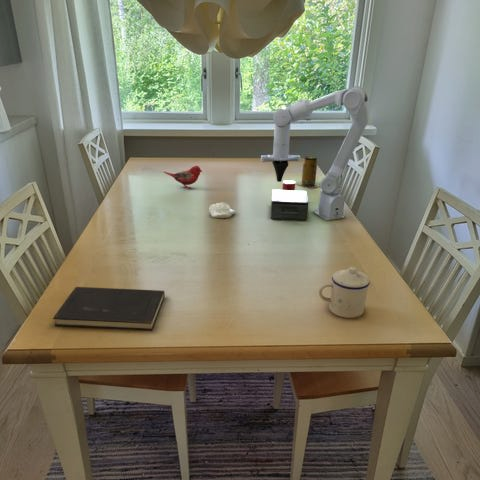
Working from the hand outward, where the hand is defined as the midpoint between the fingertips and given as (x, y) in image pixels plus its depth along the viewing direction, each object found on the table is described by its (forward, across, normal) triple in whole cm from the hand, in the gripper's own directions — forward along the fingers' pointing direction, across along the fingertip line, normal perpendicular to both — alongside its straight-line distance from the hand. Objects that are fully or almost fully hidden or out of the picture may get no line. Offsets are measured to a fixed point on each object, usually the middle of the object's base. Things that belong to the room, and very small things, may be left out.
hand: (279, 181), depth 182 cm
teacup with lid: (+11, -2, -78) cm, 79 cm away
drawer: (+10, +2, -10) cm, 14 cm away
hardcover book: (+11, -58, -72) cm, 93 cm away
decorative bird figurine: (+11, -35, +29) cm, 46 cm away
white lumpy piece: (+11, -22, -5) cm, 25 cm away
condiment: (+11, +21, +28) cm, 37 cm away
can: (+10, +6, +7) cm, 14 cm away
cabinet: (+10, +3, -6) cm, 13 cm away
